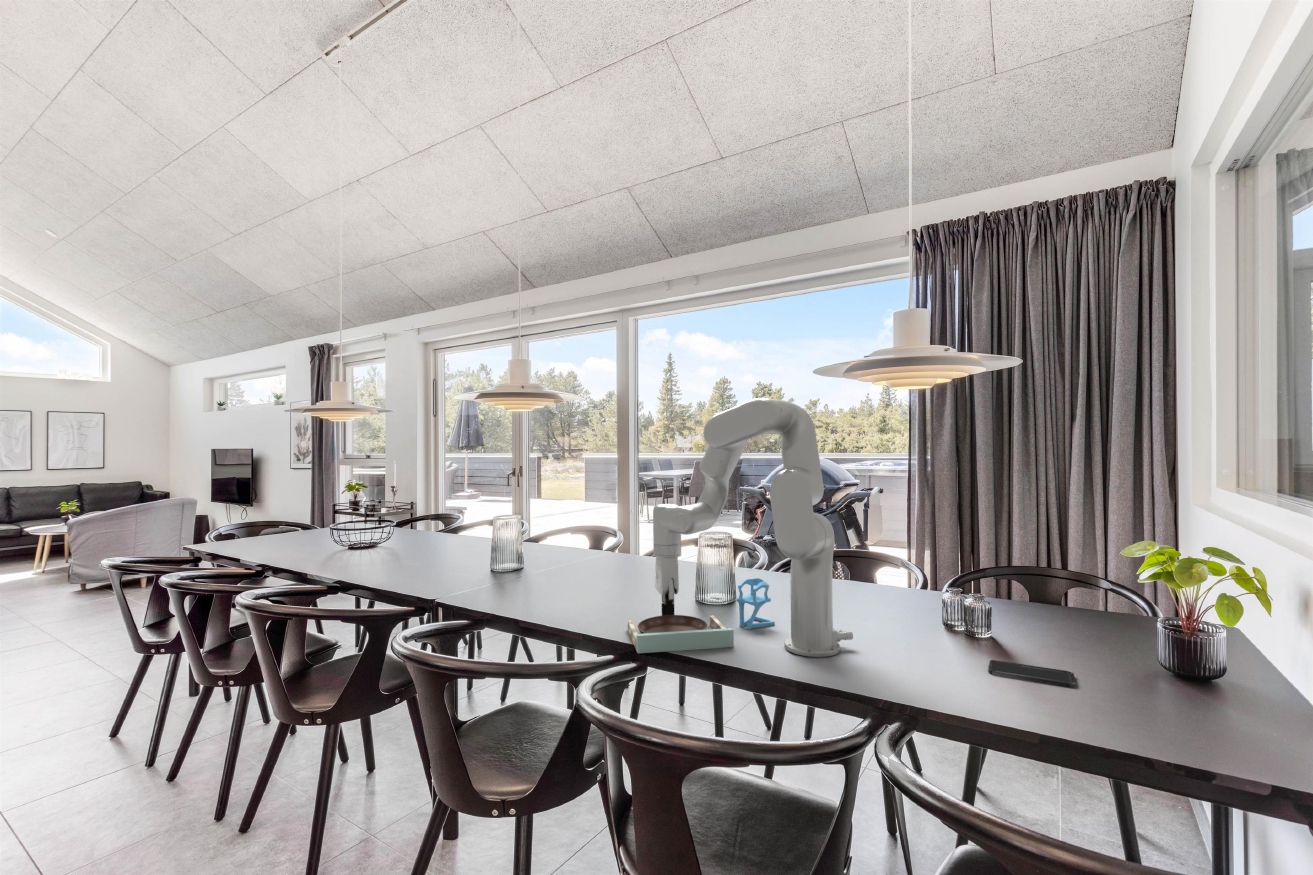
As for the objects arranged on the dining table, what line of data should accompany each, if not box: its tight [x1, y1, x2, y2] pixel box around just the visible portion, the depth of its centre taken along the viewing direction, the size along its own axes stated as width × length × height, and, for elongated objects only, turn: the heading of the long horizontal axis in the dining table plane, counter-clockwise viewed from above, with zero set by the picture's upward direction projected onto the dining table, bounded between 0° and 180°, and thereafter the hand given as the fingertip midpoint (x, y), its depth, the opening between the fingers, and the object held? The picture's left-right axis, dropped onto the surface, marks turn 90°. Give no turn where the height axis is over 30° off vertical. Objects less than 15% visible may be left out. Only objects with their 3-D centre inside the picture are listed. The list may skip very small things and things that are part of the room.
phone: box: [987, 659, 1077, 689], centre depth 126 cm, size 8×1×15 cm
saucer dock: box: [627, 615, 735, 654], centre depth 152 cm, size 18×23×4 cm
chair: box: [735, 578, 776, 630], centre depth 163 cm, size 8×8×12 cm
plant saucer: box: [637, 614, 709, 634], centre depth 155 cm, size 18×18×3 cm
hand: (668, 618), depth 165 cm, fingers closed
